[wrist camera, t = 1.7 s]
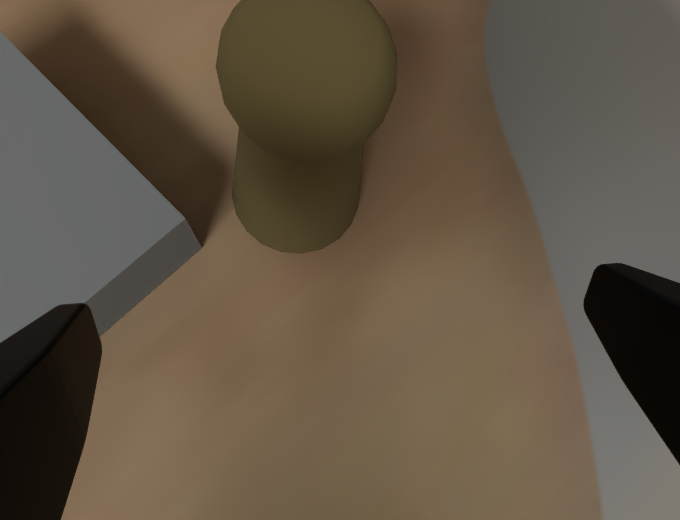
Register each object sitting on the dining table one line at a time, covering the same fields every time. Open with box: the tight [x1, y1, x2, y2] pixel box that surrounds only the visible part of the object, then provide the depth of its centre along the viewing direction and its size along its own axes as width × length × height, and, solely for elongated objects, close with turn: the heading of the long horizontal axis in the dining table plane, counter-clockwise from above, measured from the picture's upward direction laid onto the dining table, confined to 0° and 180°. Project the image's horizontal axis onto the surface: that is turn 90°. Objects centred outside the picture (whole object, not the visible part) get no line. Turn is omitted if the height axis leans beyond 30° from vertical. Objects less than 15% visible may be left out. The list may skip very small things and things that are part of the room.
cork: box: [216, 0, 397, 253], centre depth 18 cm, size 6×6×11 cm
